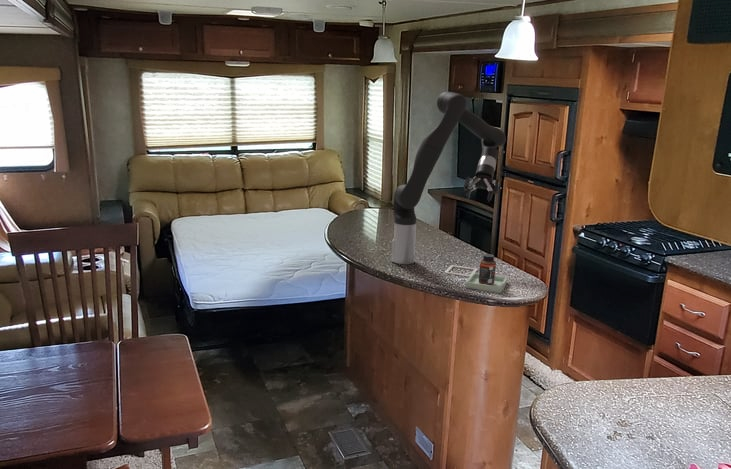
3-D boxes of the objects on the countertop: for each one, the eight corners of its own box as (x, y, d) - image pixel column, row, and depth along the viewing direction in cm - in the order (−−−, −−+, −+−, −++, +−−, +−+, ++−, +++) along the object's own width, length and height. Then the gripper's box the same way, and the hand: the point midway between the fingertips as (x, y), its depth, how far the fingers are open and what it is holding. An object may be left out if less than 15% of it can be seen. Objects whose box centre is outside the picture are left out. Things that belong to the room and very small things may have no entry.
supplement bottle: (494, 286, 217) (496, 258, 215) (478, 285, 218) (480, 256, 216) (493, 281, 223) (496, 253, 220) (478, 280, 224) (480, 252, 221)
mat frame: (443, 273, 233) (444, 272, 233) (451, 266, 243) (451, 264, 243) (471, 277, 229) (471, 276, 229) (477, 269, 239) (477, 268, 239)
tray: (464, 287, 217) (465, 282, 217) (473, 277, 229) (473, 272, 229) (500, 293, 212) (501, 287, 211) (507, 282, 224) (507, 277, 224)
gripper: (468, 162, 247) (460, 192, 239) (502, 164, 241) (494, 195, 234) (470, 172, 253) (462, 202, 245) (503, 175, 247) (495, 206, 240)
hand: (478, 199), depth 240 cm, fingers open, 8 cm apart
